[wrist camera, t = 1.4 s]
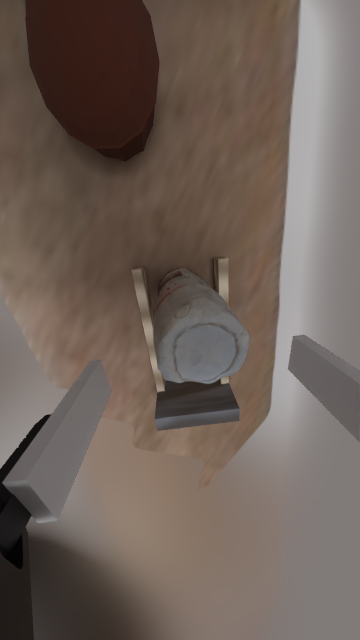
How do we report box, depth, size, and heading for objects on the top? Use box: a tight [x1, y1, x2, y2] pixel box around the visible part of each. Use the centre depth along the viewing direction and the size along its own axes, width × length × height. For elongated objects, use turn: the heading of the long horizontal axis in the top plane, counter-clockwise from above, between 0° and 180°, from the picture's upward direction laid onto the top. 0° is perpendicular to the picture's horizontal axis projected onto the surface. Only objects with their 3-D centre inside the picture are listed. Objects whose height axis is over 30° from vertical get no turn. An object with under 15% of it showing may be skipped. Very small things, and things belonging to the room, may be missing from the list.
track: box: [131, 257, 239, 431], centre depth 30 cm, size 27×14×9 cm, turn 6°
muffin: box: [25, 0, 159, 162], centre depth 17 cm, size 12×11×10 cm
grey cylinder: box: [153, 268, 249, 384], centre depth 21 cm, size 8×8×20 cm
